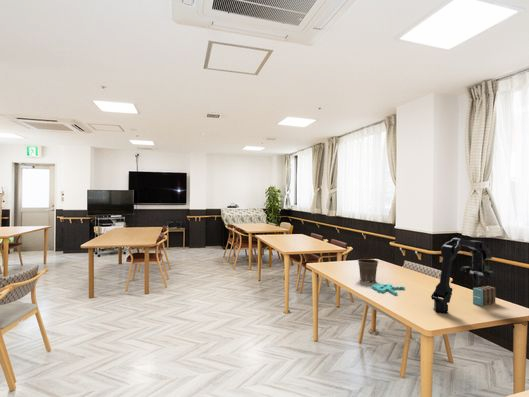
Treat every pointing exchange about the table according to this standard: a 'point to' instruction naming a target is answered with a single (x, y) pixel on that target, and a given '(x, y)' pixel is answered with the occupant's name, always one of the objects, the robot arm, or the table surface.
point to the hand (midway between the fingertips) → (477, 284)
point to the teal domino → (478, 296)
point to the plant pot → (368, 269)
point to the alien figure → (386, 288)
